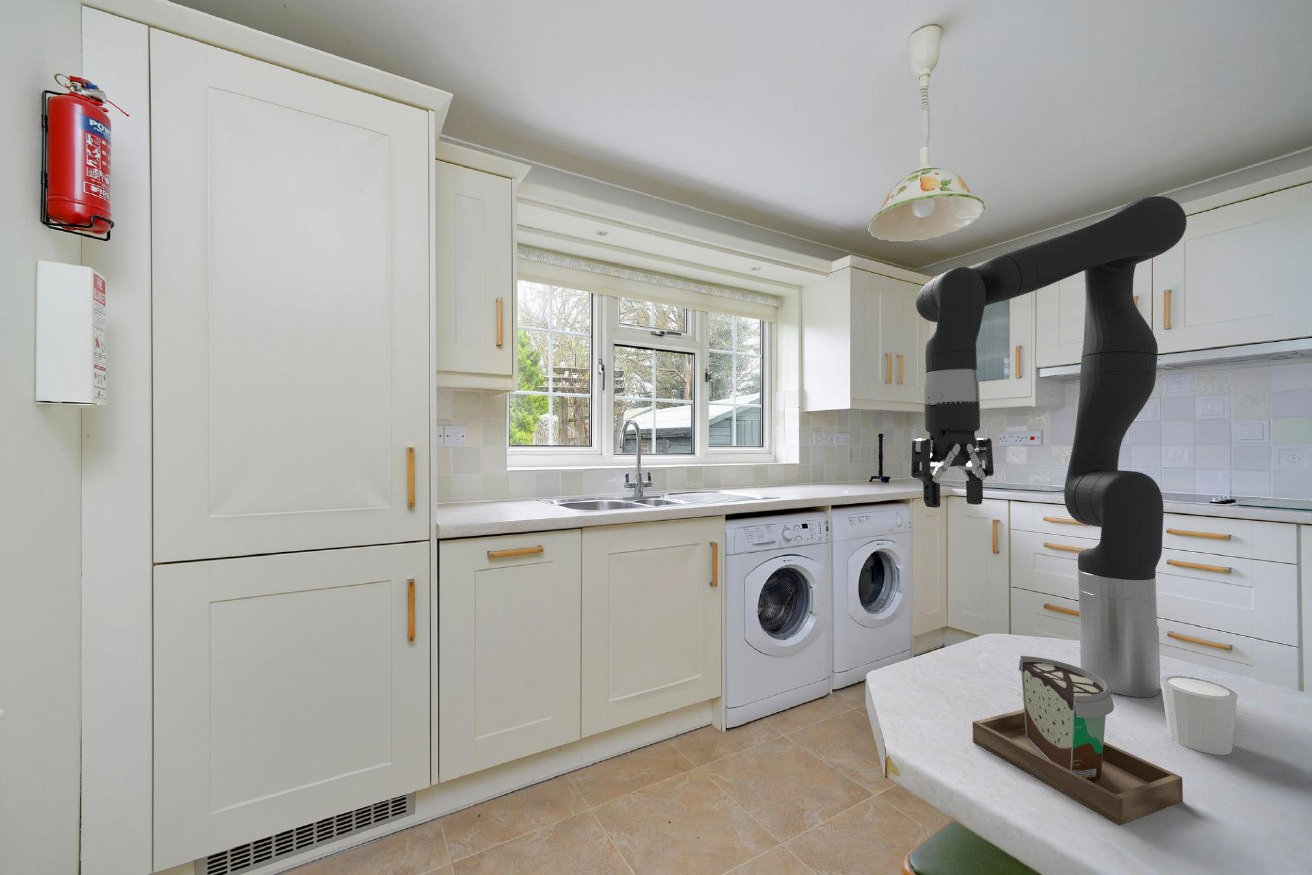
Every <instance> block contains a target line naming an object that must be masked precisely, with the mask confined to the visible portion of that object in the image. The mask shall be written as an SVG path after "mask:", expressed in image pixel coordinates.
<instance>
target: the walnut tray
mask: <svg viewBox="0 0 1312 875" xmlns="http://www.w3.org/2000/svg"><path fill="white" fill-rule="evenodd" d="M972 742H973V743H974V744H976V745H978V746H980V747H982V748H983V749H985V750H987V751H988V752H990V753H992V754H994V755H995V756H997V757H999V758H1000V759H1003V761H1006V762H1008V763H1009V764H1011V765H1013V766H1015V767H1016V768H1018V769H1020V770H1021V771H1024V772H1025V773H1027V774H1028V775H1030V776H1032V777H1034V778H1036V779H1037V780H1040V781H1041V782H1042V783H1043V784H1046V785H1048V786H1049V787H1052V789H1055V790H1056V791H1058V792H1060V793H1062V794H1063V795H1065V796H1067V797H1068V798H1071V799H1073V800H1074V801H1076V802H1077V803H1079V804H1081V805H1083V806H1085V807H1086V808H1088V809H1090V810H1091V811H1093V812H1095V813H1097V814H1099V815H1100V816H1102V817H1104V818H1106V819H1107V820H1109V821H1110V822H1112V823H1114V824H1116V825H1118V826H1122V825H1125V824H1127V823H1130V822H1133V821H1135V820H1138V819H1140V818H1143V817H1145V816H1148V815H1151V814H1153V813H1157V812H1159V811H1161V810H1164V809H1166V808H1169V807H1171V806H1174V805H1177V804H1180V803H1183V802H1184V797H1183V796H1184V792H1183V791H1184V790H1183V786H1184V785H1183V777H1182V776H1181V775H1178V774H1177V773H1175V772H1171V771H1170V770H1168V769H1165V768H1163V767H1160V766H1158V765H1156V764H1154V763H1152V762H1149V761H1147V760H1146V759H1143V758H1141V757H1139V756H1137V755H1134V754H1132V753H1130V752H1128V751H1126V750H1124V749H1121V748H1119V747H1117V746H1115V745H1112V744H1110V743H1108V742H1106V741H1104V743H1103V756H1102V769H1101V778H1100V779H1099V780H1098V781H1096V782H1095V783H1093V782H1091V781H1089V780H1087V779H1085V778H1083V777H1081V776H1079V775H1077V774H1076V773H1074V772H1072V771H1070V770H1068V769H1066V768H1064V767H1062V766H1060V765H1058V764H1057V763H1055V762H1053V761H1051V760H1049V759H1047V758H1045V757H1044V756H1043V755H1042V754H1041V753H1040V752H1039V751H1038V750H1037V749H1036V748H1035V747H1034V746H1033V745H1032V744H1031V743H1030V742H1029V741H1028V740H1027V739H1026V727H1025V714H1024V708H1022V709H1018V710H1015V711H1011V712H1007V713H1003V714H999V715H994V716H991V717H987V718H982V719H979V720H975V721H972Z"/></svg>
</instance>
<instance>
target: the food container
mask: <svg viewBox="0 0 1312 875" xmlns="http://www.w3.org/2000/svg"><path fill="white" fill-rule="evenodd" d="M1018 671H1019V672H1021V685H1022V686H1021V688H1022V698H1023V699H1022V700H1023V709H1024V714H1025V727H1026V739H1027V740H1028V741H1029V742H1030V743H1031V744H1032V745H1033V746H1034V747H1035V748H1036V749H1037V750H1038V751H1039V752H1040V753H1041V754H1042V755H1043V756H1044V757H1045V758H1047V759H1049V760H1051V761H1053V762H1055V763H1057V764H1058V765H1060V766H1062V767H1064V768H1066V769H1068V770H1070V771H1072V772H1074V773H1076V774H1077V775H1079V776H1081V777H1083V778H1085V779H1087V780H1089V781H1091V782H1093V783H1095V782H1096V781H1098V780H1099V779H1100V778H1101V769H1102V756H1103V743H1104V742H1105V741H1104V740H1105V730H1106V729H1105V728H1106V718H1107V717H1106V716H1107V715H1109V714H1111V713H1112V712H1113V711H1114V710H1115V704H1114V701H1113V697H1112V694H1111V693H1112V692H1110V691H1109V689H1108V688H1107V685H1106V683H1105V682H1104V681H1103V680H1102V679H1101V678H1099V677H1098V676H1096V675H1095V674H1093V673H1091V672H1089V671H1086V670H1084V669H1082V668H1081V667H1079V666H1075V665H1073V664H1070V663H1067V662H1062V661H1058V660H1055V659H1050V658H1044V657H1038V656H1032V655H1020V659H1019V662H1018Z"/></svg>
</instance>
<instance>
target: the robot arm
mask: <svg viewBox="0 0 1312 875" xmlns="http://www.w3.org/2000/svg"><path fill="white" fill-rule="evenodd" d="M1186 230H1187V215H1186V213H1185V211H1184V209H1183V207H1182V206H1181V205H1180V204H1179V202H1177V201H1176V200H1174V199H1172V198H1170V197H1167V196H1159V195H1154V196H1146V197H1143V198H1140V199H1137V200H1134V201H1132V202H1130V203H1128V204H1126V205H1124V206H1122V207H1119V208H1118V209H1116V210H1113V211H1112V212H1109V213H1107V214H1106V215H1104V216H1102V217H1101V218H1099V219H1097V220H1096V221H1095V222H1094V223H1092V224H1090V225H1087V226H1085V227H1082V228H1080V229H1077V230H1074V231H1070V232H1068V233H1065V234H1063V235H1062V234H1061V235H1059V236H1057V237H1052V238H1049V239H1046V240H1043V241H1039V242H1037V243H1033V244H1030V245H1027V246H1024V247H1021V248H1018V249H1013V250H1012V251H1009V252H1006V253H1002V254H1000V255H997V256H994V257H992V258H989V259H987V260H986V261H983V262H982V263H980V264H978V265H976V266H974V267H968V266H957V267H954V268H951V269H949V270H947V271H945V272H944V273H942V274H940V275H939V276H938V275H937V276H936V277H935V278H934V279H931V280H930V281H928V282H927V283H926V284H924V285H923V286H922V287H921V289H920V290H919V291H918V294H917V296H916V300H915V306H916V311H917V314H918V315H920V316H921V318H923V319H924V320H926V321H928V322H932V323H936V329H935V331H934V333H933V335H931V337H930V338H929V339H928V340H927V342H926V344H925V359H924V360H925V381H924V389H923V390H924V392H923V394H924V429H925V431H926V432H928V433H929V437H928V438H914V439H912V441H911V462H910V463H911V470H910V473H911V474H910V475H911V477H912V478H914V479H918V480H920V481H921V482H922V483H923V484H922V485H923V488H922V490H923V501H924V505H925V507H927V508H933V509H934V508H935V509H937V508H940V507H941V483H940V482H939V481H940V479H941V477H942V476H943V474H944V473H945V472H947V471H948V469H949V468H950V467H957V469H958V470H961V471H962V473H963V475H964V476H965V478H966V480H965V490H966V491H965V492H966V495H965V496H966V500H965V501H966V503H967V504H968V505H975V506H979V505H982V503H983V499H984V494H983V493H984V492H983V491H984V481H985V479H986V478H987V477H992V476H993V475H994V474H995V472H994V459H993V458H994V457H993V441H992V439H991V438H990V437H985V438H983V437H981V438H980V437H978V438H976V435H975V433H976V432H978V431H980V429H981V407H980V406H981V404H980V403H981V402H980V401H981V400H980V384H979V383H980V382H979V376H978V367H977V366H978V365H977V363H978V362H977V361H978V360H977V355H978V354H977V341H978V337H979V333H980V330H981V326H982V321H983V316H984V310H985V307H987V306H989V305H993V304H997V303H1000V302H1001V303H1002V302H1004V301H1008V300H1012V299H1015V298H1017V297H1020V296H1023V295H1026V294H1029V293H1031V292H1035V291H1037V290H1040V289H1043V288H1045V287H1049V286H1051V285H1052V284H1055V283H1057V282H1060V281H1063V280H1064V279H1067V278H1070V277H1073V276H1074V275H1078V274H1080V273H1082V272H1084V283H1085V286H1084V287H1085V311H1084V326H1083V328H1084V330H1083V344H1082V345H1083V346H1082V353H1081V359H1080V360H1081V361H1080V372H1079V395H1078V396H1079V397H1078V403H1077V404H1078V405H1077V414H1076V424H1075V431H1074V438H1073V444H1072V448H1071V454H1070V459H1069V462H1068V468H1067V473H1066V477H1065V484H1064V489H1063V493H1064V494H1063V498H1064V504H1065V507H1066V510H1067V512H1068V514H1069V515H1070V517H1071V518H1072V519H1074V520H1075V521H1076V522H1078V523H1080V524H1083V525H1087V526H1091V527H1097V528H1100V538H1099V539H1100V540H1099V543H1098V544H1097V545H1096V546H1095V547H1092V548H1087V549H1083V550H1081V551H1080V552H1079V553H1078V556H1077V575H1078V576H1077V577H1078V578H1077V579H1078V581H1077V582H1078V609H1079V610H1078V614H1079V619H1078V620H1079V647H1080V648H1079V649H1080V650H1079V654H1080V655H1079V657H1080V668H1082V669H1084V670H1086V671H1089V672H1091V673H1093V674H1095V675H1096V676H1098V677H1099V678H1101V679H1102V680H1103V681H1104V682H1105V683H1106V685H1107V688H1108V689H1109V691H1110V693H1114V694H1118V695H1121V696H1127V697H1128V696H1129V697H1137V698H1149V697H1151V698H1152V697H1155V696H1157V695H1159V692H1160V688H1161V681H1160V679H1161V667H1160V666H1161V664H1160V659H1161V658H1160V628H1159V625H1158V613H1157V611H1158V610H1157V587H1156V586H1157V584H1156V583H1157V581H1156V576H1157V574H1156V573H1157V570H1156V569H1157V566H1158V563H1159V562H1160V560H1161V557H1162V554H1163V532H1164V499H1163V494H1162V491H1161V489H1160V486H1159V485H1158V484H1157V482H1156V480H1154V479H1153V478H1152V477H1151V476H1149V475H1148V474H1145V473H1143V472H1140V471H1136V470H1135V471H1134V470H1121V469H1120V470H1119V460H1120V459H1119V457H1120V453H1121V452H1120V450H1121V447H1122V443H1123V440H1124V438H1125V436H1126V433H1127V431H1128V430H1129V428H1130V426H1131V425H1132V424H1133V422H1134V421H1135V420H1136V418H1137V417H1138V416H1139V414H1140V412H1142V410H1143V408H1144V406H1146V404H1147V402H1148V400H1149V399H1150V397H1151V395H1152V393H1153V391H1154V389H1155V384H1156V378H1157V366H1158V350H1159V349H1158V348H1159V347H1158V343H1157V342H1158V341H1157V339H1156V337H1155V334H1154V332H1153V330H1152V329H1151V328H1150V325H1149V324H1148V323H1147V321H1146V319H1145V318H1144V317H1143V316H1142V314H1141V312H1140V310H1139V309H1138V308H1137V305H1136V303H1135V299H1134V278H1135V270H1136V267H1137V264H1140V263H1142V262H1145V261H1147V260H1151V259H1153V258H1156V257H1159V256H1160V255H1162V254H1165V253H1166V252H1168V251H1169V250H1171V249H1172V248H1173V247H1175V246H1176V245H1177V244H1178V243H1179V242H1180V240H1182V238H1183V237H1184V234H1185V232H1186ZM983 462H984V467H983ZM920 469H921V470H920Z"/></svg>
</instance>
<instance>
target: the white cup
mask: <svg viewBox="0 0 1312 875" xmlns="http://www.w3.org/2000/svg"><path fill="white" fill-rule="evenodd" d="M1160 688H1161V693H1162V694H1161V695H1162V700H1163V705H1164V706H1163V707H1164V712H1165V714H1164V715H1165V721H1166V726H1167V727H1166V728H1167V734H1168V737H1169V738H1170V739H1171V740H1173V741H1174V742H1176V743H1177V744H1179V745H1182V746H1184V747H1186V748H1188V749H1192V750H1195V751H1198V752H1200V753H1205V754H1211V755H1218V756H1219V755H1220V756H1227V755H1230V754H1232V752H1233V742H1234V735H1235V726H1236V724H1235V723H1236V713H1237V704H1238V695H1239V694H1238V693H1236V692H1235V691H1234V690H1233V689H1231V688H1229V687H1226V686H1224V685H1222V684H1219V683H1216V682H1212V681H1210V680H1205V679H1201V678H1197V677H1191V676H1185V675H1165V676H1162V677H1160Z"/></svg>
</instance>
